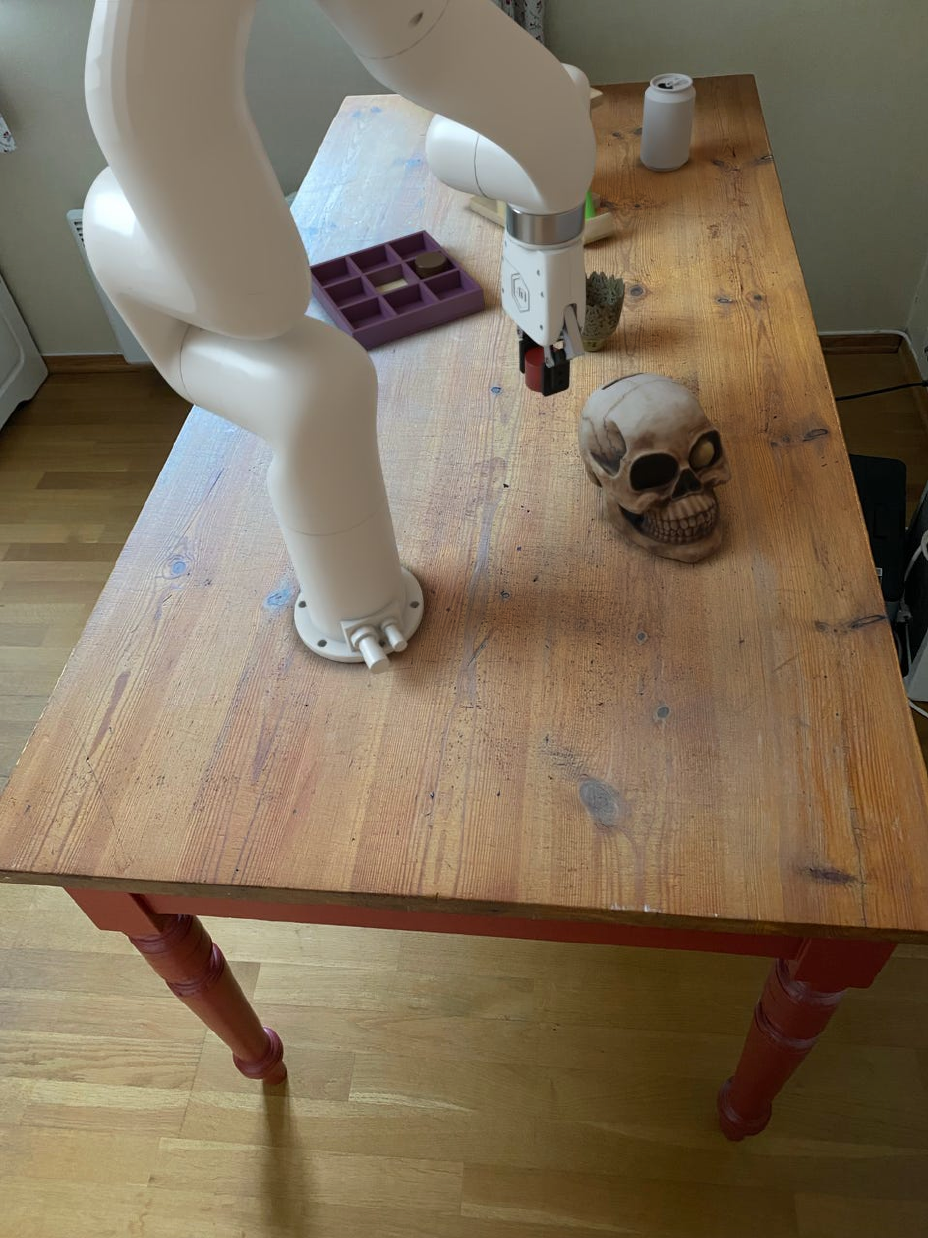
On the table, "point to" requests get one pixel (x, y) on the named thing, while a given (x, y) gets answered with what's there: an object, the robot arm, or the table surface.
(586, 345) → the cup
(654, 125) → the can
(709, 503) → the coin bank
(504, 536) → the table surface
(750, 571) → the table surface
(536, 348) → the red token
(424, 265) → the walnut token
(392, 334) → the board
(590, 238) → the pounding bench toy
